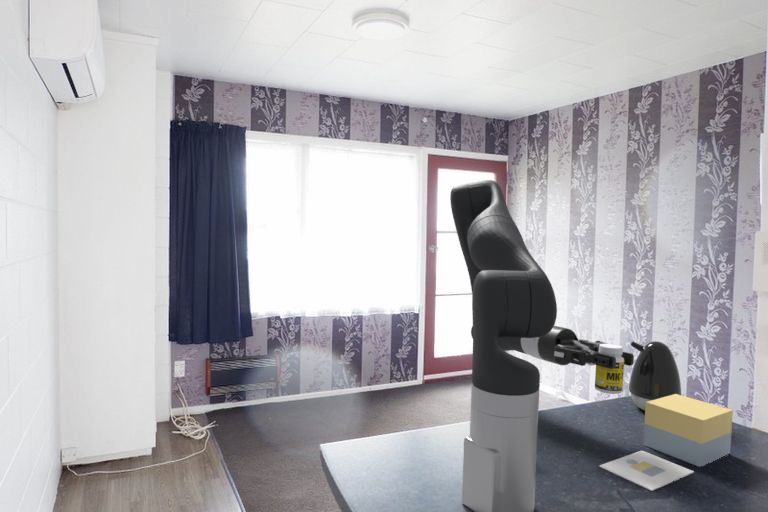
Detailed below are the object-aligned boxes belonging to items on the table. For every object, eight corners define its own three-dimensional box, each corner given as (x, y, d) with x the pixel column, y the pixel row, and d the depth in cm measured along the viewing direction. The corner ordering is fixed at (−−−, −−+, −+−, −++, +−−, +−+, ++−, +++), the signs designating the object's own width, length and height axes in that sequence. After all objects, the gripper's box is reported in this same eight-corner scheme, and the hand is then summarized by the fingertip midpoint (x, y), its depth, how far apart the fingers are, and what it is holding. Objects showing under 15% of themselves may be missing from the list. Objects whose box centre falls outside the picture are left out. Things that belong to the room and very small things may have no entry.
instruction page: (651, 491, 78) (651, 489, 78) (599, 466, 85) (599, 464, 85) (693, 472, 84) (694, 470, 84) (641, 451, 92) (641, 449, 92)
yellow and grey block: (700, 467, 86) (703, 420, 86) (643, 444, 95) (645, 402, 94) (729, 454, 91) (732, 410, 91) (673, 434, 100) (675, 393, 99)
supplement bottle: (606, 395, 93) (608, 349, 93) (589, 387, 98) (591, 343, 97) (628, 393, 94) (630, 348, 94) (610, 386, 99) (612, 342, 98)
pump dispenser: (633, 398, 121) (636, 334, 120) (683, 409, 114) (687, 341, 114) (621, 409, 113) (625, 341, 112) (675, 422, 106) (679, 349, 106)
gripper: (525, 327, 104) (600, 344, 89) (571, 322, 111) (647, 337, 97) (523, 364, 104) (597, 387, 90) (570, 357, 112) (645, 377, 97)
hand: (623, 361), depth 93 cm, fingers closed on supplement bottle, 4 cm apart
